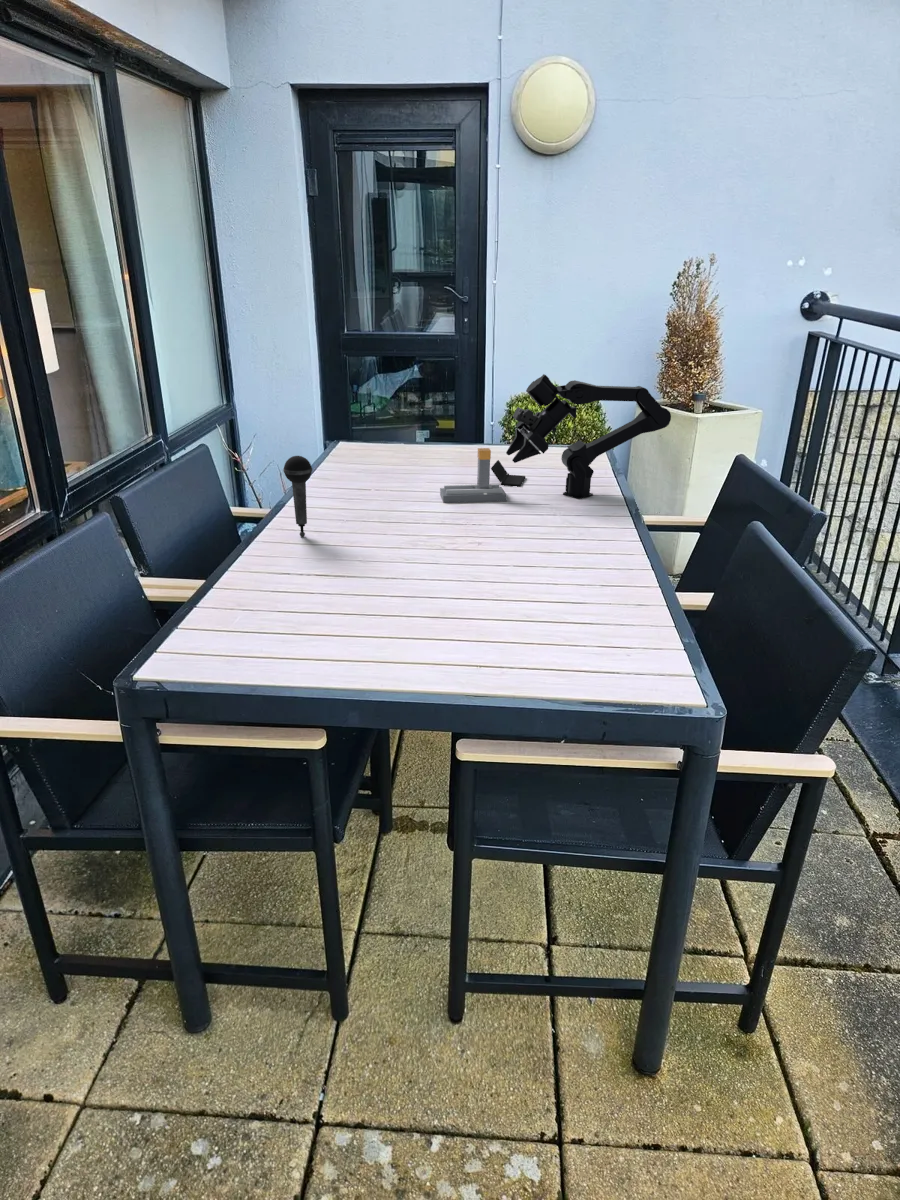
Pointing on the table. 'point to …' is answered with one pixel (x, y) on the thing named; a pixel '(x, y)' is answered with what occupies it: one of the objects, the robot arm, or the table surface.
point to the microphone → (299, 486)
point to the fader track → (471, 494)
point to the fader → (483, 469)
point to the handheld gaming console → (506, 476)
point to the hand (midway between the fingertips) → (510, 457)
